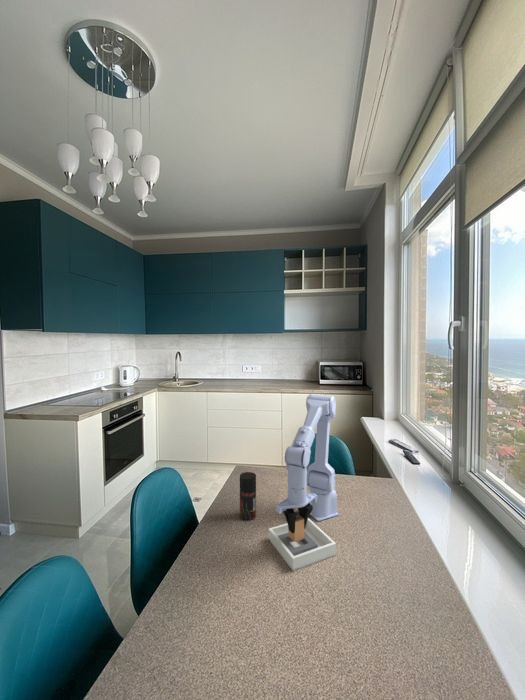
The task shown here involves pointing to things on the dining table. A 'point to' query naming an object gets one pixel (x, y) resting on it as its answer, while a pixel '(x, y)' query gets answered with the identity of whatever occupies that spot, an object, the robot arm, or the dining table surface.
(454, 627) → the dining table surface
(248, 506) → the deodorant
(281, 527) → the walled box
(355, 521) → the dining table surface
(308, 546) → the inlet socket
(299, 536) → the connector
